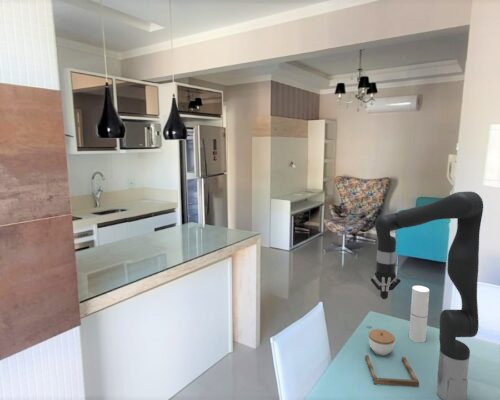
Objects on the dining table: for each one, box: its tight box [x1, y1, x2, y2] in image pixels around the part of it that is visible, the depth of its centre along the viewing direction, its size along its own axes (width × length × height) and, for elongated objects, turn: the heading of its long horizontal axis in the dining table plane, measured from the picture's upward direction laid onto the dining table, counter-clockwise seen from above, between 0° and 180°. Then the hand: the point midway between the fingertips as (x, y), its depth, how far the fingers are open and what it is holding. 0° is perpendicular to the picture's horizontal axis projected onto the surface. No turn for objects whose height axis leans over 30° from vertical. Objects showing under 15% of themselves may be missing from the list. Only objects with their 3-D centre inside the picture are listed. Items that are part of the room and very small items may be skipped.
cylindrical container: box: [408, 285, 430, 344], centre depth 162 cm, size 7×7×25 cm
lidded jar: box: [368, 328, 396, 356], centre depth 153 cm, size 11×11×9 cm
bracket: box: [364, 354, 420, 388], centre depth 140 cm, size 16×16×2 cm
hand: (383, 298), depth 150 cm, fingers closed
